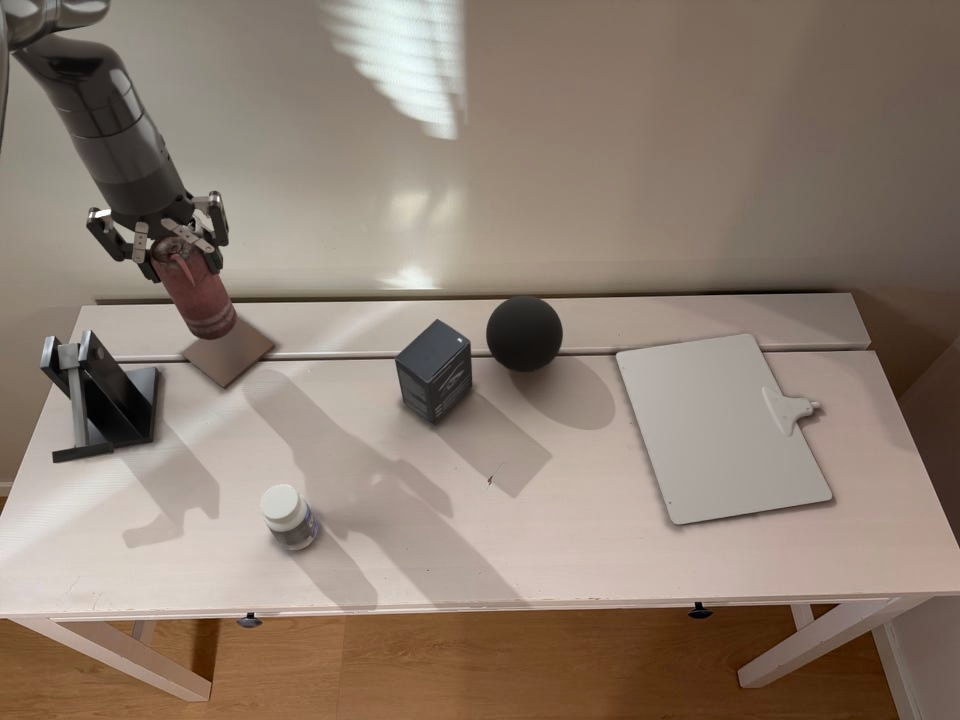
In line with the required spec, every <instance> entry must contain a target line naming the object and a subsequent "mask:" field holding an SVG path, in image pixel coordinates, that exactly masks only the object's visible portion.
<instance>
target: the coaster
mask: <svg viewBox="0 0 960 720" xmlns="http://www.w3.org/2000/svg"><path fill="white" fill-rule="evenodd" d="M275 348H276V344H275V343H274V342H273V341H271V340H270V339H269V338H267V337H266V336H264V335H263V334H261V333H260V332H259V331H258V330H256V329H255V328H253V326H250V325H249V324H248V323H246V322H245V321H243V319H241V318H240V317H238V316H237V321H236V323H235V325H234V327H233V329H232V330H231V331H230V332H229V333H228V334H227V335H225V336H223V337H221V338H218V339H215V340H205V339H200V338H198V339H197V340H196V341H195V342H194V343H193V344H191V345H190V346H189V347H187V348H186V349H185V350H183V351H182V352H181V353H180V354H181V356H182V357H183V358H184V359H185V360H186V361H188V362H189V363H191V364H192V365H193V366H194V367H195V368H197V369H198V370H199V371H201V372H202V373H203V374H204V375H206V376H207V377H208V378H210V379H211V380H212V381H213V382H214V383H216V384H217V385H218V386H220V387H221V388H222V389H224V390H226V389H228V387H230V386H231V385H232V384H233V383H235V382H236V381H237V380H238V379H239V378H240V377H242V376H243V375H244V374H245V373H246V372H247V371H249V370H250V369H251V368H252V367H253V366H255V365H256V364H257V363H258V362H260V361H261V360H262V359H263V358H265V356H266V355H268V354H269V353H270V352H271V351H273V350H274V349H275Z"/></svg>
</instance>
